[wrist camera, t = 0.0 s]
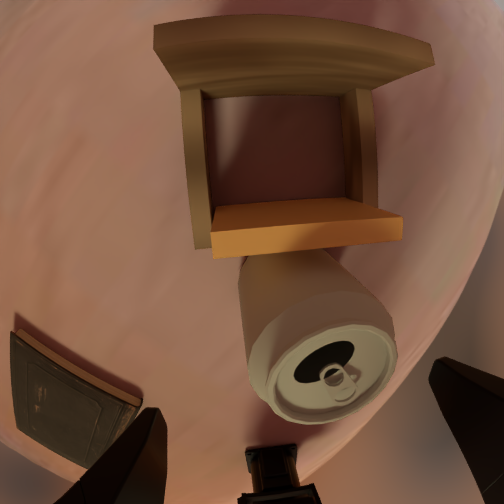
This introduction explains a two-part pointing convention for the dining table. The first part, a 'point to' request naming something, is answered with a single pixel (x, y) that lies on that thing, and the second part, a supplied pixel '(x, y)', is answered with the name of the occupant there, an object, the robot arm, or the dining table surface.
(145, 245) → the dining table surface
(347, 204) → the pusher
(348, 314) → the can
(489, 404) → the robot arm
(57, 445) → the hardcover book
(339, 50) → the brown wooden crate
